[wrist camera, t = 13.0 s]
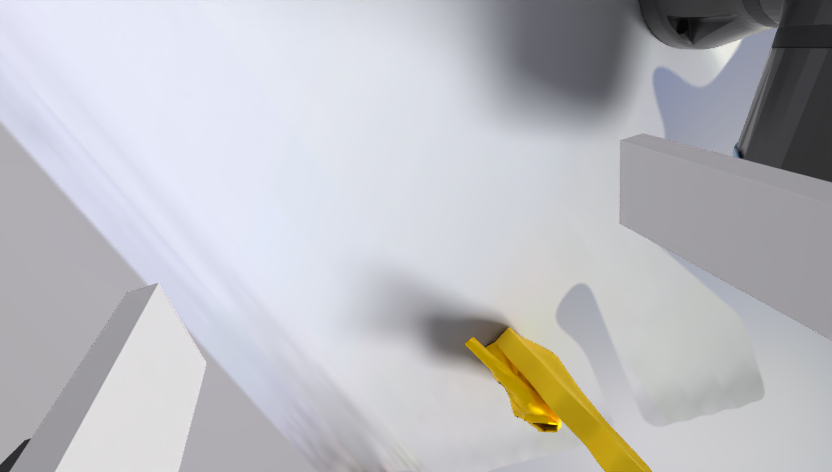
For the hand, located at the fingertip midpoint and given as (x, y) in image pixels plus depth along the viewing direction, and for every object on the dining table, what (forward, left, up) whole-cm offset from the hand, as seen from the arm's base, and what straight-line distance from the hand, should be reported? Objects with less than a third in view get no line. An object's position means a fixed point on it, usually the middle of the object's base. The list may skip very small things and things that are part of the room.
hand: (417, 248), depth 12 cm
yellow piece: (-13, +34, -29) cm, 46 cm away
